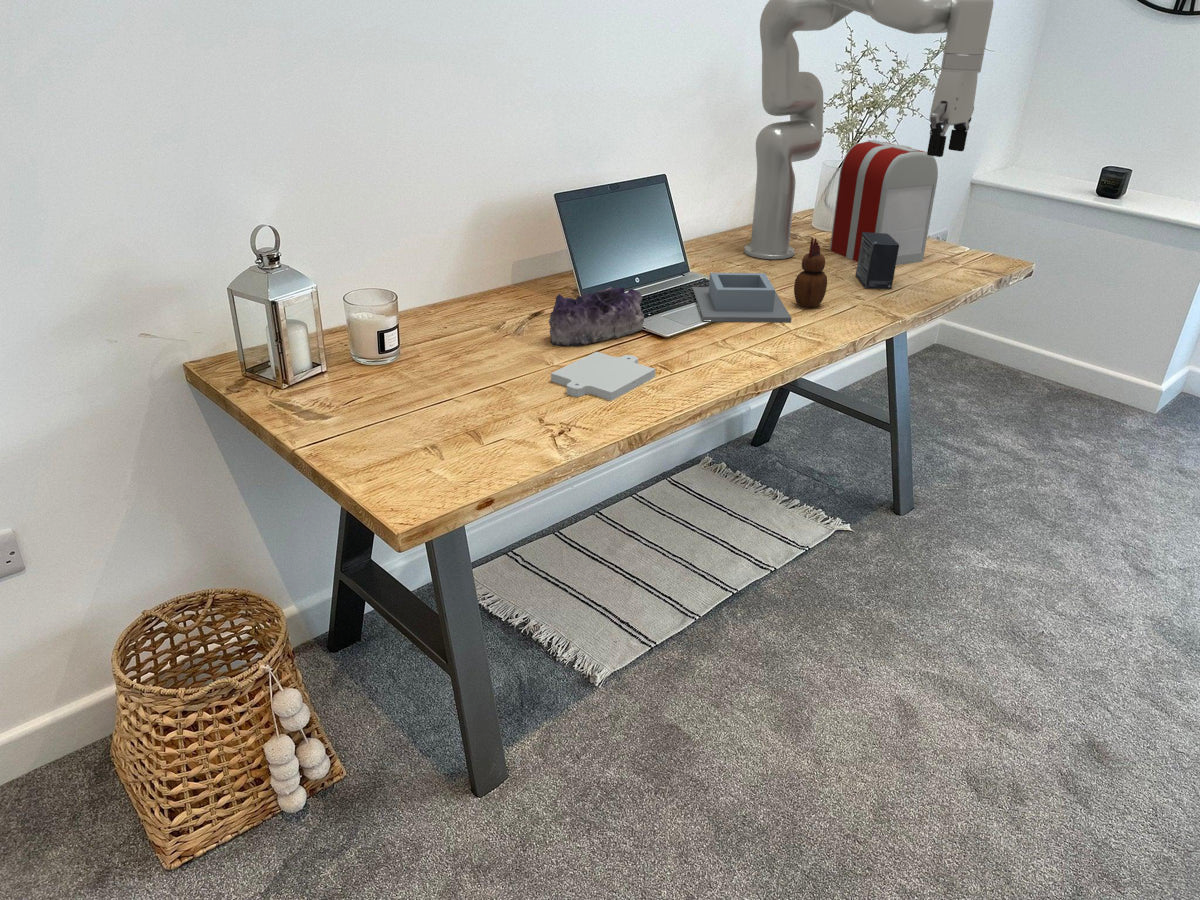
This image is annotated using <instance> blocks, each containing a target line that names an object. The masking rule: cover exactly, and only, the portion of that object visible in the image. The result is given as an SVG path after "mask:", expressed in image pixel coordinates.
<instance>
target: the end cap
mask: <svg viewBox="0 0 1200 900" xmlns="http://www.w3.org/2000/svg"><path fill="white" fill-rule="evenodd" d="M708 277H709V279H708V286H692V290H693V292H694V294H693V296H694V295H695V297H694V299H695V298H696V300H695V302H696V301H697V303H696V305H697V304H698V306H697V308H698V307H699V309H698V311H699V310H700V311H699V314H700V313H701V314H700V316H701V315H702V317H701V319H702V318H703V320H711V322H712V323H792V316H791V315H790V313H789V311H788V310H787V308H786V306H785V304H784V302H783V301H782V300H781V298H780V297H779V294H778V293H777V291H776V289H775V287H774V286H773V284H772V282H771V281H770V279H769V277H768V276H767V274H766V273H765V272H709V276H708ZM693 292H692V293H693ZM703 320H702V321H703Z"/></svg>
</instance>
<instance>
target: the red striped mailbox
mask: <svg viewBox="0 0 1200 900" xmlns="http://www.w3.org/2000/svg"><path fill="white" fill-rule="evenodd" d="M839 170H840V171H839V178H838V185H837V191H836V200H835V209H834V217H833V223H832V230H831V238H830V245H829V251H831V252H833V253H835V254H838V255H839V256H842V257H844V258H846V259H848V260H851V261H854V262H857V263H858V258H859V252H860V246H861V239H862V232H869V233H886V234H889V235H890V236H891V237H892V238H893V239H894V240H895V241H896V242H897V243H898V244H899V250H898V255H897V261H896V266H897V265H898V266H899V265H906V264H915V263H922V262H924V256H925V250H926V246H927V239H928V233H929V228H930V225H931V224H930V223H931V218H932V212H933V205H934V202H935V200H934V199H935V195H936V190H937V183H938V177H939V176H938V175H939V171H938V163H937V160H936V157H935V156H929V155H927V151H923V150H919V149H915V148H912V147H911V146H908V145H903V144H895V143H890V142H887V141H880V140H876V139H871V140H867V141H863V142H860V143H859V142H858V143H855V144H854V145H853V146H851V147H850V148H849V150H848V151H847V152H846V154H845V156H844V158H843V160H842V163H841V165H840V169H839Z"/></svg>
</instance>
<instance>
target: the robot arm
mask: <svg viewBox="0 0 1200 900" xmlns="http://www.w3.org/2000/svg"><path fill="white" fill-rule="evenodd" d="M994 3H995V2H994V0H768V1H767V3H766V4H765V5H764V8H763V10H762V13H761V15H760V20H759V36H760V44H761V102H762V103H761V104H762V107H763V109H764V111H765V113H766V114H767V115H770V116H774V117H785V116H789V120H786V121H785V120H784V121H778V122H773V123H770V124H768V125H766V126H765V127H763V128H762V129H761V130H760V131H759V132H758V134H757V137H756V140H755V156H756V183H755V196H754V205H753V208H754V209H753V218H752V227H751V228H752V229H751V238H750V240H751V241H750V243H749V244H746V245H745V246H744V248H743V249H744V250H743V252H744V253H745V254H746V255H747V256H750V257H753V258H757V259H765V260H785V259H789V258H791V257H793V256H794V255H795V249H794V248H793V246H790V240H791V239H790V238H791V229H792V222H793V220H792V219H793V211H794V204H795V203H794V202H795V194H796V182H797V181H796V175H795V171H794V168H793V163H794V162H796V163H797V162H801V161H805V160H810V159H812V158H813V157H815V156H816V155H817V154H818V152H819V151H820V149H821V146H822V142H823V134H824V133H823V132H824V131H823V130H824V129H823V127H824V90H823V87H822V83H821V81H820V79H819V78H818V77H817V76H816V75H815V74H814V73H812V72H809V71H800V67H799V66H800V52H799V47H798V43H797V41H796V39H795V37H794V35H793V34H794V33H795V32H808V31H809V32H810V31H811V32H812V31H822V30H823V31H824V30H826V29H829V28H831V27H833V26H834V25H835V24H837V23H838V22H840V21H841V20H843V19H844V18H846V17H847V16H849V15H850V14H852V13H853V12H857V13H860V14H863V15H865V16H868V17H870V18H871V19H872V20H874V21H875V22H877V23H878V24H881V25H883V26H885V27H889V28H892V29H895V30H898V31H900V32H905V33H908V34H914V35H920V34H921V35H922V34H924V35H925V34H945V33H946V38H945V42H944V49H943V55H942V61H941V67H940V71H941V72H940V74H939V76H938V80H937V83H936V87H935V91H934V95H933V99H932V102H931V103H932V104H931V108H930V113H929V117H928V118H929V119H928V120H929V123H930V124H929V127H930V130H929V141H928V147H927V150H926V152H927V155H929V156H934V157H935V158H936V157H938V158H941V157H942V158H943V156H944V153H945V147H946V140H947V135H946V133H947V132H948V130H949V127H950V126H953V129H951V133H950V138H949V143H948V150H949V151H956V152H964V150H965V147H966V141H967V137H968V131H969V130H970V122H971V121H972V116H973V114H974V111H975V106H974V105H975V100H976V95H977V94H976V92H977V86H978V85H977V84H978V75H979V73H981V70H982V67H983V62H984V61H983V60H984V57H985V52H986V45H987V40H988V35H989V30H990V26H991V25H990V24H991V20H992V15H993V10H994Z"/></svg>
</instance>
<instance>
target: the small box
mask: <svg viewBox="0 0 1200 900" xmlns="http://www.w3.org/2000/svg"><path fill="white" fill-rule="evenodd" d="M898 250H899V244H898V243H897V242H896V241H895V240H894V239H893V238H892V237H891V236H890V235H889V234H886V233H869V232H862V239H861V246H860V252H859V258H858V262H857V264H856V270H855V276H856V278H857V280H858V281H859V282H860V284H862V286H863V287H864V289H877V290H892V289H893V282H894V277H895V270H896V266H897V265H896V261H897V255H898Z"/></svg>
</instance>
